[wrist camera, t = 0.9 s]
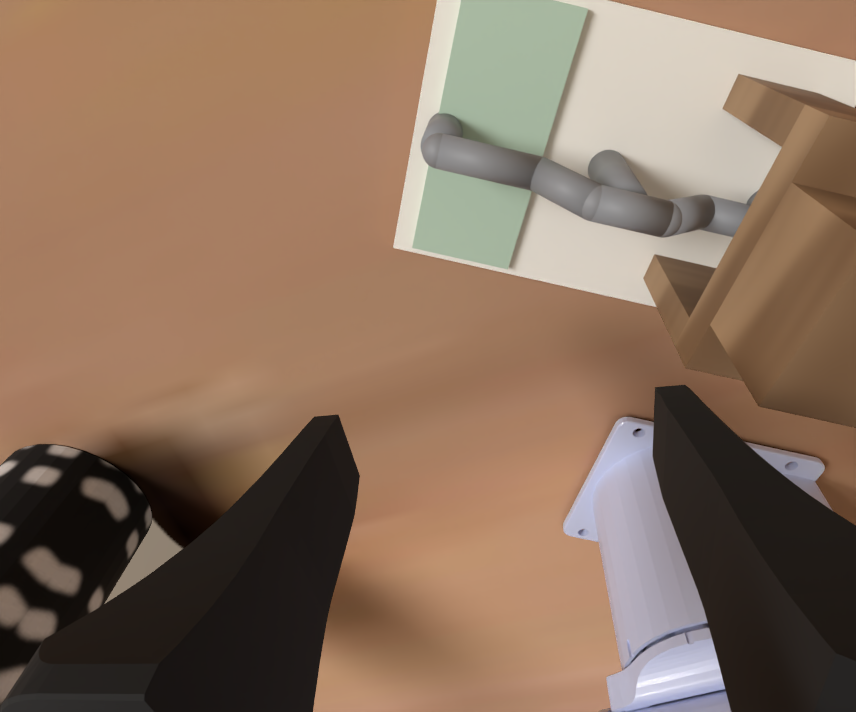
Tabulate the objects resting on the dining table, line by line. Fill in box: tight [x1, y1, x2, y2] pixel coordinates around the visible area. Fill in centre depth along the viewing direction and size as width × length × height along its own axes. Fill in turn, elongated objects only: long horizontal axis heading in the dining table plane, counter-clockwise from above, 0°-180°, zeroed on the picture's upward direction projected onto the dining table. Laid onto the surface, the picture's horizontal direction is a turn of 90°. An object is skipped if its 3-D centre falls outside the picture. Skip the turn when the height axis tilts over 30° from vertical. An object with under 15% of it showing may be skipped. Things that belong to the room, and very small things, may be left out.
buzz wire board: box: [393, 0, 856, 307], centre depth 17 cm, size 13×9×5 cm
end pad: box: [412, 0, 588, 269], centre depth 19 cm, size 4×8×1 cm, turn 169°
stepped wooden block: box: [643, 74, 856, 428], centre depth 15 cm, size 2×7×9 cm, turn 169°
